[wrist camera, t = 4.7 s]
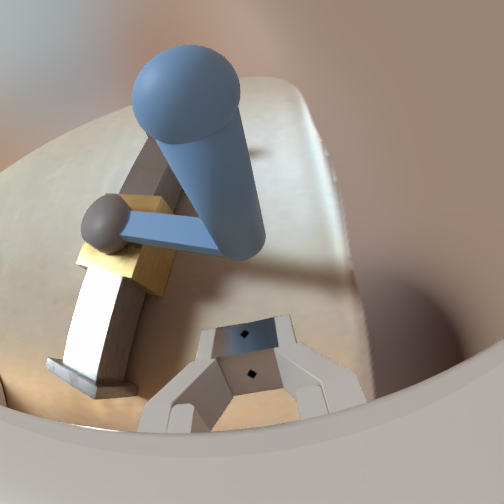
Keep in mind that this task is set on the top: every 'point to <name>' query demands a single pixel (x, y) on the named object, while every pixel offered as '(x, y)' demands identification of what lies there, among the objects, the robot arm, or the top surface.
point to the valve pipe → (119, 288)
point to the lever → (189, 162)
